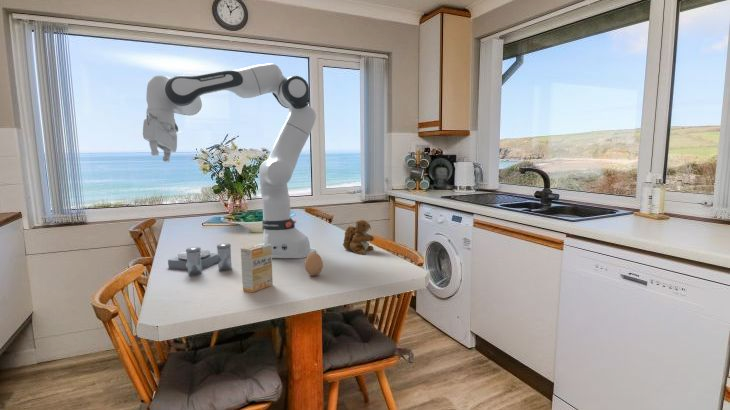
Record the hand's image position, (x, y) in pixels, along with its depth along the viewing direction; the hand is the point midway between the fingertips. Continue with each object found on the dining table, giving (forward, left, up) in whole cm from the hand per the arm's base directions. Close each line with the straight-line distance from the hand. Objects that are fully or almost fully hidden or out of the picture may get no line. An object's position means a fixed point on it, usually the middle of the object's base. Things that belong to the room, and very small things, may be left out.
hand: (160, 158), depth 136 cm
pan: (-8, -4, -36) cm, 37 cm away
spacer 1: (-16, +5, -40) cm, 43 cm away
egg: (-57, -3, -40) cm, 69 cm away
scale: (-8, -4, -40) cm, 40 cm away
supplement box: (-45, +12, -40) cm, 61 cm away
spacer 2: (-23, -2, -40) cm, 46 cm away
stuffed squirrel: (-61, -39, -40) cm, 82 cm away
